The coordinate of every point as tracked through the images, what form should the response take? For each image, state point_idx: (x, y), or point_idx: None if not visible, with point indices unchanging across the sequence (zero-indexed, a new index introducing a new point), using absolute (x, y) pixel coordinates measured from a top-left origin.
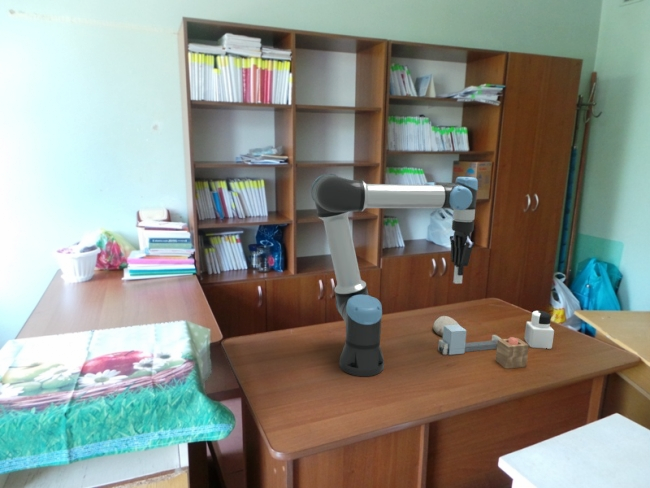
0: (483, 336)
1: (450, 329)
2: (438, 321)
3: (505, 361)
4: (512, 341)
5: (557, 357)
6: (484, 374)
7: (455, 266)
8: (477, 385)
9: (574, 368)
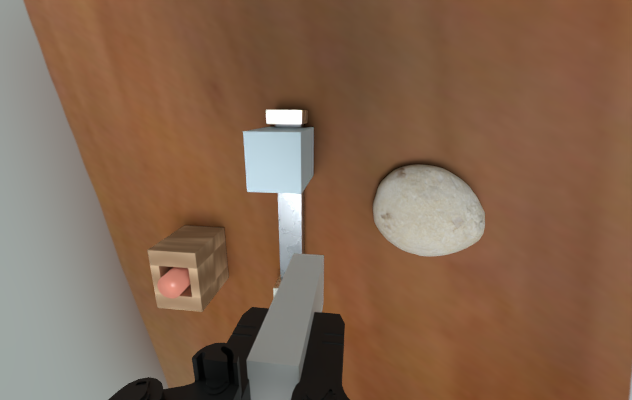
0: (361, 289)
1: (262, 138)
2: (443, 189)
3: (180, 231)
4: (162, 276)
5: None
6: (162, 157)
7: (282, 358)
8: (114, 108)
9: (176, 355)
